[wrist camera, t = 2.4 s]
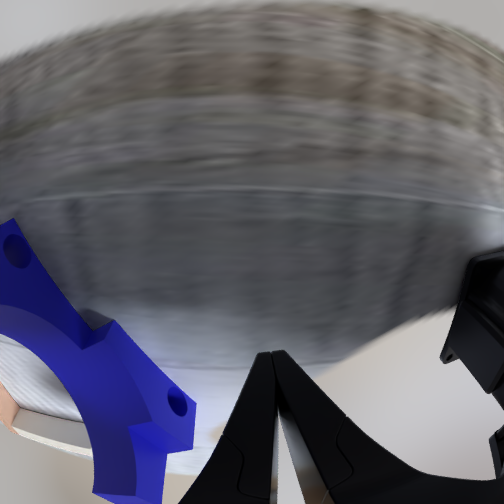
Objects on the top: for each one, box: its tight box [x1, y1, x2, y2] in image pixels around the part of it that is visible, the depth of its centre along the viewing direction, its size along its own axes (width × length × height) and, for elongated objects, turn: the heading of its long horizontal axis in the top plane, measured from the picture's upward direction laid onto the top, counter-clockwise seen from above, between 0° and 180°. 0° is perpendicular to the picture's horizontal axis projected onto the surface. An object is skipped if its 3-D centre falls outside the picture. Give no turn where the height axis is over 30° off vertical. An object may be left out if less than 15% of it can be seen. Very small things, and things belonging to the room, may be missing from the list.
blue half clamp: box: [0, 218, 197, 504], centre depth 8 cm, size 12×4×6 cm, turn 28°
